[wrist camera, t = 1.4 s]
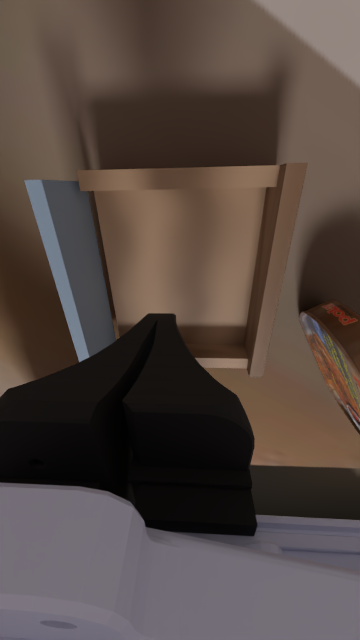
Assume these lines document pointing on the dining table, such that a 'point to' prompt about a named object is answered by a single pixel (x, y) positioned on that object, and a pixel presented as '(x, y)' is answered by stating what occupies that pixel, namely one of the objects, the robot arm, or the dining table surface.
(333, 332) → the tin
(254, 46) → the dining table surface
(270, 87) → the dining table surface
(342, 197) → the dining table surface
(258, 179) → the light wood shallow box
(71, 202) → the panel
